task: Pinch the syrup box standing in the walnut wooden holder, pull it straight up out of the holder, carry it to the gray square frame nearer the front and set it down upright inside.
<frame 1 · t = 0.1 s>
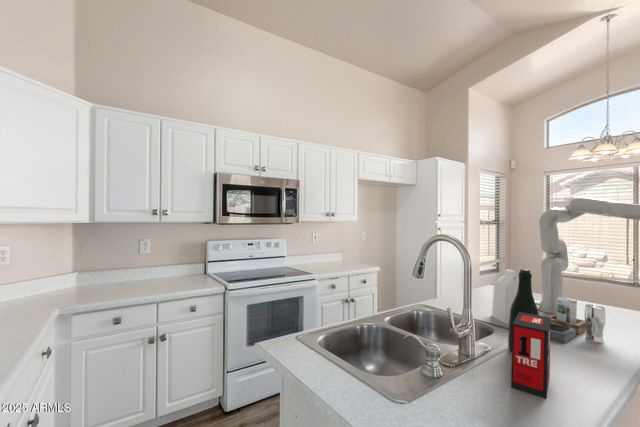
gray square frame: (552, 335, 140), on the counter
cleaning product box: (530, 382, 99), on the counter
dark green wine bottle: (523, 353, 121), on the counter
beer glass: (594, 340, 136), on the counter
walnut holder: (566, 328, 150), on the counter
milk: (509, 320, 161), on the counter
syrup box: (566, 329, 150), resting in walnut holder
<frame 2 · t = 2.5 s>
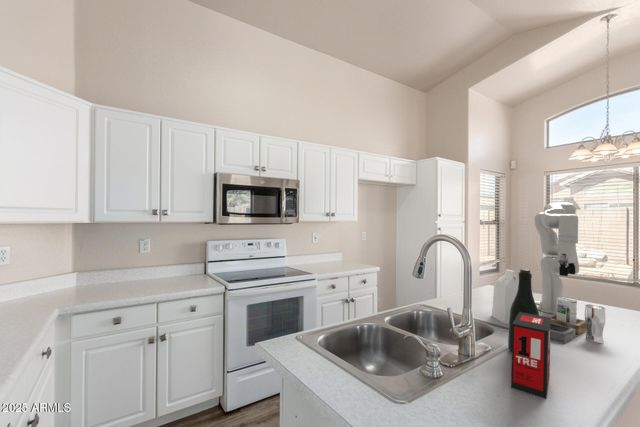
hand: (567, 274, 149), 26 cm above the counter, tool pointing down, fingers open, 9 cm apart
nothing on the counter moved.
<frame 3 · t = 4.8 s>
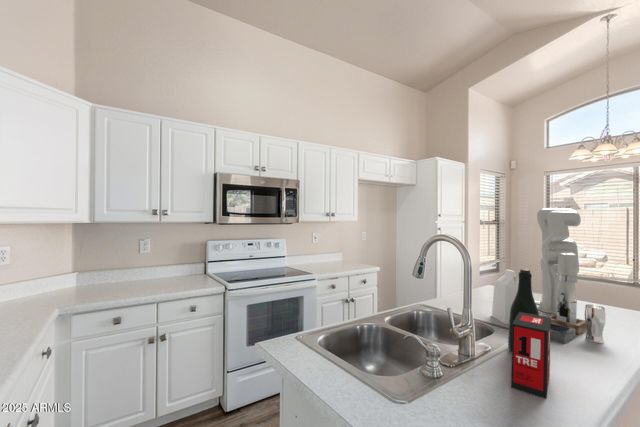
hand: (566, 314, 150), 7 cm above the counter, tool pointing down, fingers closed on syrup box, 7 cm apart
syrup box: (566, 329, 150), resting in walnut holder, touching gripper
everything else where it was.
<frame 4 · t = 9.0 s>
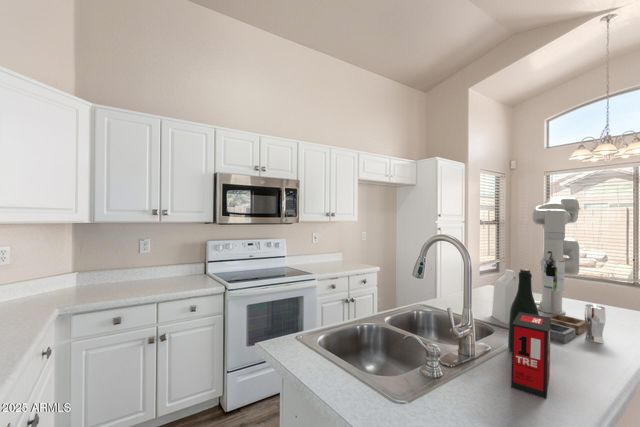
hand: (553, 275, 140), 28 cm above the counter, tool pointing down, fingers closed on syrup box, 7 cm apart
syrup box: (553, 290, 140), point 21 cm above the counter, touching gripper
everything else where it was.
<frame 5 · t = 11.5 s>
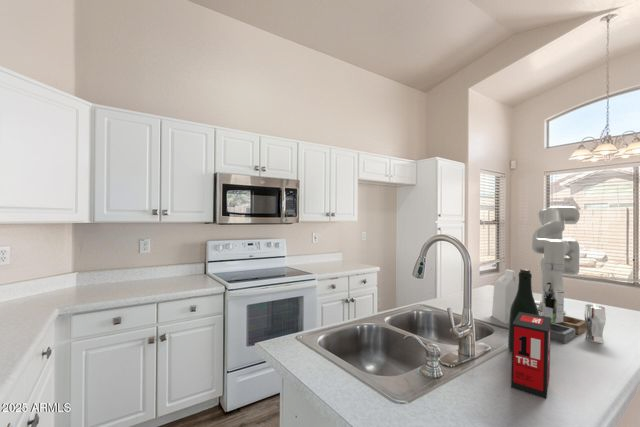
hand: (553, 305, 140), 14 cm above the counter, tool pointing down, fingers closed on syrup box, 7 cm apart
syrup box: (552, 321, 140), point 7 cm above the counter, touching gripper
everything else where it was.
when the fingers open (8 cm above the counter, at t = 13.6 s): syrup box drops 1 cm, resting in gray square frame.
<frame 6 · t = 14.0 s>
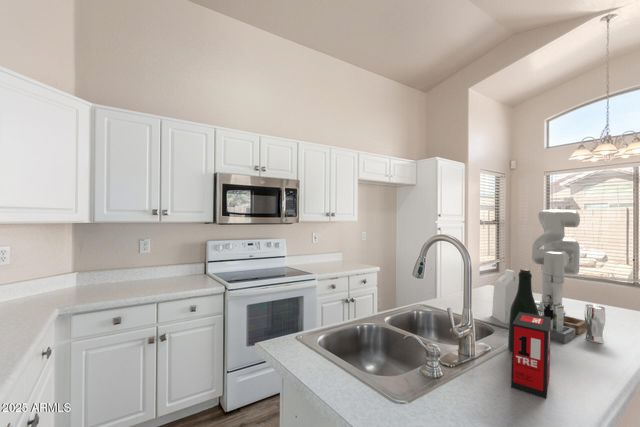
hand: (552, 316, 140), 9 cm above the counter, tool pointing down, fingers open, 9 cm apart
syrup box: (552, 336, 140), resting in gray square frame
everything else where it was.
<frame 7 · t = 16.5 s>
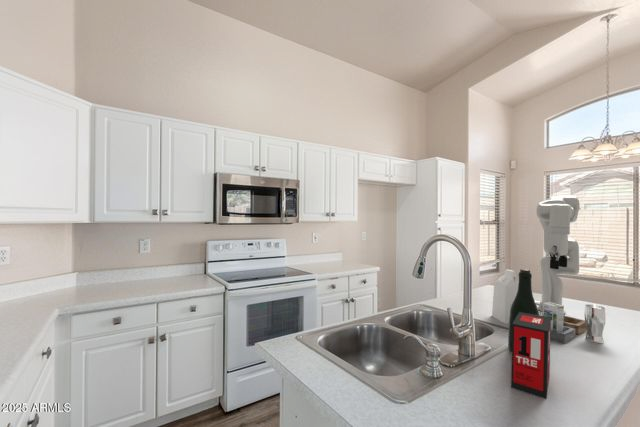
hand: (558, 267, 142), 31 cm above the counter, tool pointing down, fingers open, 9 cm apart
nothing on the counter moved.
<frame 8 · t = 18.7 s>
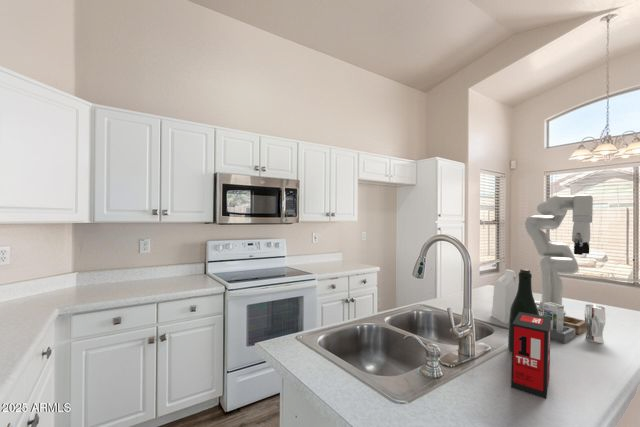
hand: (581, 253, 152), 36 cm above the counter, tool pointing down, fingers open, 9 cm apart
nothing on the counter moved.
at the end: syrup box 0.4 cm off-centre on the gray square frame, point 0.0 cm above the gray square frame's base; syrup box tilted 0°; the gripper is holding nothing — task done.
